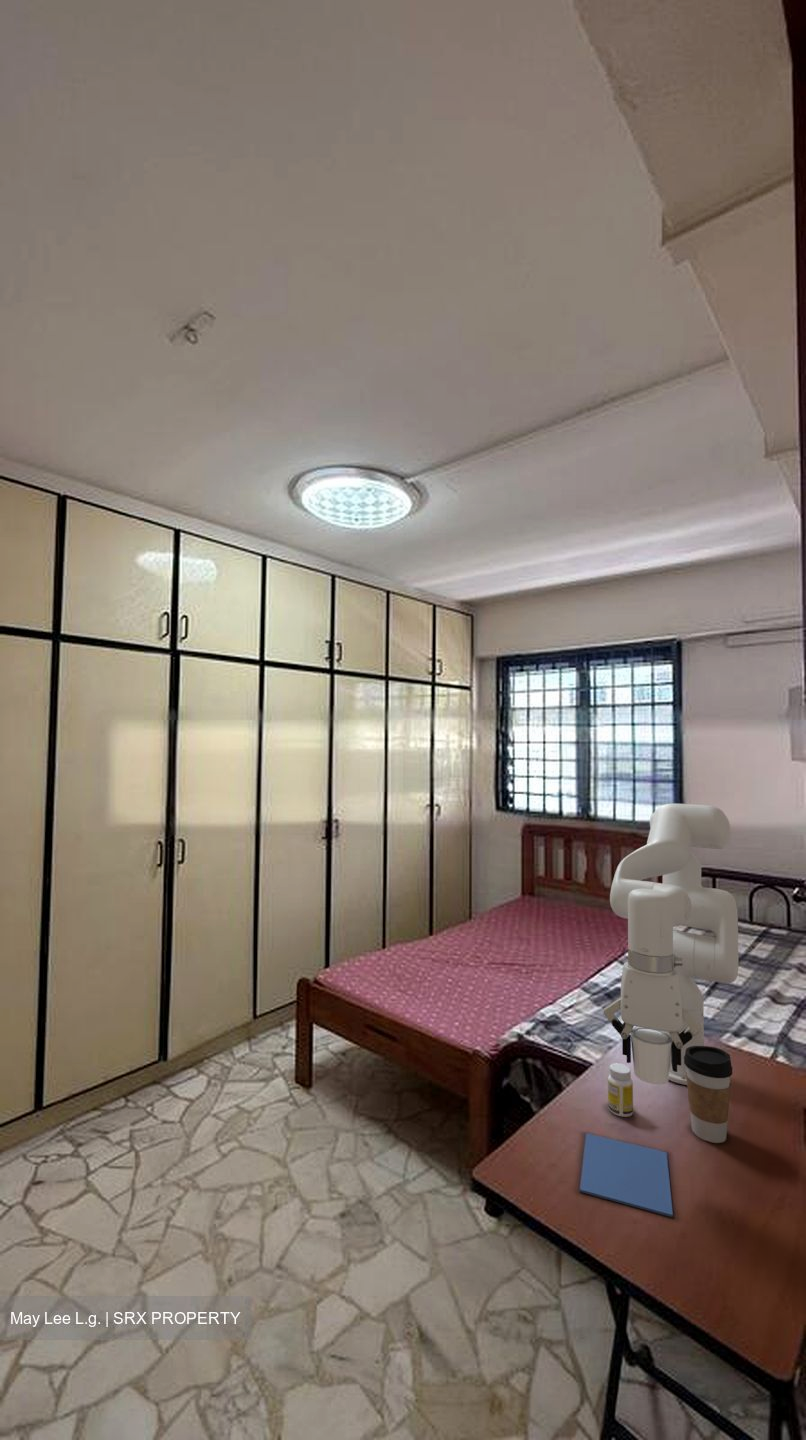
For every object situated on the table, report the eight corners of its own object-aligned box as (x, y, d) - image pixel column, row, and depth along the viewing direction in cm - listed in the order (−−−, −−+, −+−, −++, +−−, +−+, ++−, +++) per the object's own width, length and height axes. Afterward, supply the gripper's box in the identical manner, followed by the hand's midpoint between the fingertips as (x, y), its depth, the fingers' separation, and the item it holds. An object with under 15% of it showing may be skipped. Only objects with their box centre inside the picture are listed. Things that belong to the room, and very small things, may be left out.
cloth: (586, 1134, 111) (586, 1132, 111) (666, 1154, 106) (666, 1152, 106) (579, 1191, 96) (579, 1189, 96) (673, 1217, 91) (672, 1215, 91)
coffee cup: (740, 1150, 107) (739, 1066, 108) (691, 1143, 109) (690, 1060, 110) (725, 1123, 116) (723, 1045, 117) (679, 1117, 117) (678, 1040, 118)
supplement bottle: (632, 1106, 120) (632, 1064, 121) (633, 1119, 116) (633, 1076, 117) (608, 1102, 122) (607, 1060, 123) (608, 1114, 118) (607, 1071, 118)
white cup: (623, 1066, 106) (623, 1026, 107) (659, 1065, 107) (659, 1025, 107) (642, 1087, 99) (642, 1044, 100) (680, 1086, 100) (680, 1043, 101)
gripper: (701, 961, 105) (702, 1063, 104) (600, 948, 111) (600, 1045, 110) (707, 974, 98) (708, 1085, 97) (598, 960, 104) (598, 1063, 103)
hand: (651, 1063), depth 103 cm, fingers closed on white cup, 6 cm apart
